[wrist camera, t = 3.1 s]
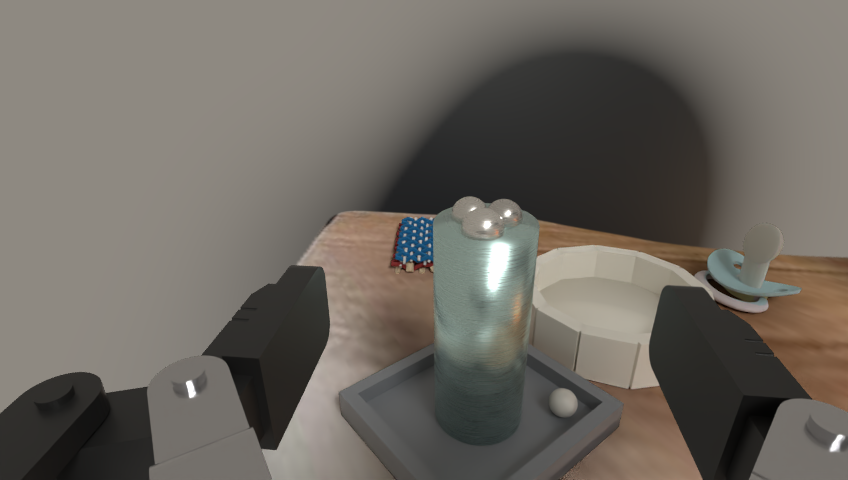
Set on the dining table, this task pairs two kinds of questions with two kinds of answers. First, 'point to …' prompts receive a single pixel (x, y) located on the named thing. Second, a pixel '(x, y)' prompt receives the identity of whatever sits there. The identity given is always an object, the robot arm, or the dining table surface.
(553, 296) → the bowl
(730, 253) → the pacifier
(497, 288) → the teal cylinder
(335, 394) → the dining table surface
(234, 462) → the robot arm
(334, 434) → the dining table surface
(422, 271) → the woven mat
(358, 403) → the parts tray
